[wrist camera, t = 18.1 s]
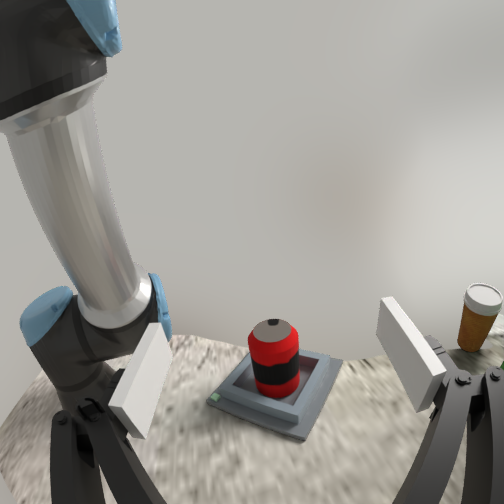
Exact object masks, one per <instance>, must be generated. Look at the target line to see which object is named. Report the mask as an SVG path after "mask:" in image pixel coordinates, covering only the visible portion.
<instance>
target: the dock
mask: <svg viewBox="0 0 504 504" xmlns="http://www.w3.org/2000/svg"><path fill="white" fill-rule="evenodd" d="M342 364H343V360H340V359H335V358H330V355H325V354H320V353H315V352H311V351H306V350H301V349H299V371H300V382H299V386H298V387H297V389H296V390H295V391H294V392H293V393H291V394H289V395H287V396H284V397H280V398H272V397H268V396H265V395H263V394H262V393H260V392H259V391H258V389H257V387H256V383H255V378H254V372H253V367H252V362H251V356H250V352H249V353H248V354H247V355H246V356H245V358H244V359H243V360H242V361H241V362H240V363H239V365H238V366H237V367H236V368H235V369H234V370H233V371H232V372H231V374H230V375H229V376H228V377H227V378H226V379H225V380H224V381H223V383H222V384H221V385H220V386H219V387H218V388H217V389H216V390H215V391H214V392H213V394H212V395H211V396H210V397H209V398H208V399H207V400H206V401H207V403H208V404H210V405H212V406H214V407H216V408H218V409H221V410H223V411H225V412H227V413H230V414H232V415H234V416H237V417H239V418H242V419H244V420H247V421H249V422H252V423H254V424H257V425H259V426H262V427H265V428H268V429H270V430H273V431H276V432H279V433H282V434H285V435H288V436H291V437H294V438H297V439H301V440H304V441H306V439H307V437H308V435H309V433H310V431H311V429H312V428H313V426H314V424H315V422H316V420H317V418H318V416H319V414H320V412H321V410H322V408H323V406H324V404H325V402H326V400H327V397H328V395H329V393H330V391H331V389H332V387H333V384H334V382H335V380H336V378H337V375H338V373H339V371H340V368H341V366H342Z"/></svg>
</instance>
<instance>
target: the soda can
mask: <svg viewBox="0 0 504 504" xmlns="http://www.w3.org/2000/svg"><path fill="white" fill-rule="evenodd" d="M248 345H249V351H250V356H251V362H252V367H253V372H254V378H255V383H256V387H257V389H258V391H259V392H260V393H262V394H263V395H265V396H268V397H272V398H280V397H284V396H287V395H289V394H291V393H293V392H294V391H295V390H296V389H297V387H298V386H299V382H300V371H299V342H298V333H297V331H296V329H295V328H293V327H292V326H291V325H290V324H289V323H288V322H286V321H284V320H280V319H269V320H265V321H262V322H260V323H259V324H257V325H256V326H255V327H254V329H253V330H252V332H251V333H250V335H249V336H248Z"/></svg>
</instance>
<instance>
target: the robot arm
mask: <svg viewBox="0 0 504 504" xmlns="http://www.w3.org/2000/svg"><path fill="white" fill-rule="evenodd" d="M121 49H122V42H121V37H120V30H119V23H118V16H117V9H116V2H115V0H0V132H2V133H4V134H5V135H6V136H7V139H8V143H9V146H10V149H11V152H12V155H13V159H14V162H15V164H16V167H17V170H18V173H19V176H20V178H21V181H22V184H23V186H24V189H25V191H26V194H27V196H28V198H29V200H30V203H31V205H32V207H33V210H34V212H35V214H36V216H37V218H38V220H39V222H40V225H41V227H42V229H43V231H44V233H45V234H46V236H47V238H48V240H49V242H50V244H51V246H52V248H53V250H54V252H55V253H56V255H57V257H58V259H59V260H60V262H61V264H62V266H63V267H64V269H65V271H66V272H67V274H68V276H69V277H70V279H71V280H72V282H73V284H74V285H75V287H76V289H77V290H78V295H73V292H72V291H71V290H70V289H69V287H67V286H64V287H63V286H60V287H56V288H54V289H52V290H50V291H48V292H46V293H44V294H43V295H41V296H39V297H38V298H37V299H36V300H34V301H33V302H32V303H31V304H30V305H29V306H28V307H27V308H26V309H25V310H24V312H23V314H22V315H21V318H20V329H21V331H22V333H23V335H24V338H25V340H26V342H27V345H28V346H29V347H30V349H31V351H32V352H33V354H34V356H35V357H36V359H37V361H38V362H39V364H40V365H41V367H42V368H43V370H44V372H45V373H46V375H47V376H48V378H49V379H50V381H51V382H52V383H53V385H54V386H55V388H56V390H57V393H58V396H59V399H60V402H61V405H62V408H63V410H62V411H59V412H57V413H56V414H55V415H54V417H53V419H52V428H51V446H50V482H51V498H52V504H106V503H105V499H104V493H103V488H102V482H101V476H100V469H99V465H100V467H101V470H102V472H103V474H104V477H105V479H106V481H107V483H108V485H109V488H110V490H111V492H112V494H113V496H114V498H115V500H116V502H117V504H167V503H166V502H165V500H164V499H163V497H162V496H161V495H160V493H159V492H158V490H157V489H156V487H155V485H154V484H153V482H152V481H151V479H150V478H149V476H148V474H147V473H146V471H145V469H144V468H143V466H142V464H141V462H140V461H139V459H138V457H137V455H136V453H135V452H134V450H133V448H132V446H131V444H130V442H129V440H128V439H127V438H126V435H127V433H128V432H129V433H130V435H131V436H132V437H133V438H140V439H146V437H147V434H148V431H149V428H150V425H151V421H152V418H153V415H154V412H155V409H156V406H157V403H158V400H159V397H160V394H161V391H162V388H163V385H164V382H165V379H166V376H167V373H168V370H169V367H170V365H171V362H172V359H173V354H172V352H171V349H170V347H169V344H168V342H169V341H170V340H171V338H172V327H171V321H170V316H169V314H168V306H167V302H166V298H165V294H164V290H163V286H162V283H161V281H160V278H159V276H158V275H157V274H150V273H148V274H147V272H146V270H145V269H144V268H143V267H142V266H140V265H139V264H137V263H135V262H133V261H132V258H131V255H130V252H129V249H128V247H127V243H126V240H125V237H124V234H123V231H122V228H121V225H120V221H119V218H118V215H117V211H116V208H115V204H114V201H113V197H112V193H111V189H110V186H109V182H108V177H107V173H106V169H105V165H104V160H103V156H102V151H101V147H100V141H99V136H98V131H97V125H96V119H95V113H94V107H93V95H94V93H95V92H96V90H97V89H98V87H99V86H100V85H101V83H102V82H103V81H104V79H105V78H106V77H107V67H106V57H112V56H114V55H115V54H117V53H119V52H120V51H121ZM376 335H377V337H378V339H379V341H380V343H381V345H382V346H383V348H384V350H385V352H386V354H387V356H388V358H389V359H390V361H391V363H392V365H393V367H394V369H395V371H396V373H397V375H398V377H399V379H400V381H401V382H402V384H403V386H404V388H405V390H406V392H407V394H408V397H409V399H410V401H411V403H412V405H413V407H414V409H415V411H416V413H417V412H420V411H423V410H426V409H428V408H429V407H430V405H431V404H432V402H434V404H435V406H436V407H435V409H434V410H433V412H432V414H431V416H430V417H429V418H430V419H431V420H430V423H429V425H428V428H427V431H426V434H425V436H424V439H423V441H422V444H421V446H420V449H419V451H418V453H417V456H416V458H415V460H414V462H413V465H412V467H411V469H410V471H409V473H408V475H407V477H406V479H405V481H404V483H403V485H402V487H401V489H400V491H399V492H398V494H397V496H396V498H395V499H394V501H393V503H392V504H439V502H440V500H441V497H442V495H443V493H444V490H445V488H446V486H447V483H448V480H449V478H450V475H451V472H452V470H453V467H454V464H455V461H456V458H457V454H458V451H459V448H460V444H461V441H462V437H463V433H464V429H465V425H466V421H467V452H466V468H465V479H464V487H463V495H462V501H461V504H504V371H503V370H502V369H501V368H500V367H498V366H491V367H489V368H487V370H486V372H485V374H482V375H471V374H470V373H469V372H468V371H465V370H459V369H458V367H457V366H456V365H455V363H454V362H453V360H452V359H451V358H450V356H449V355H448V354H447V352H445V350H444V348H443V347H442V346H441V344H440V343H439V342H438V340H437V339H435V338H434V337H432V336H430V335H429V336H425V337H423V336H422V335H421V333H420V332H419V331H418V330H417V328H416V327H415V325H414V324H413V323H412V321H411V320H410V319H409V317H408V316H407V315H406V313H405V312H404V311H403V310H402V308H401V307H400V306H399V305H398V303H397V302H396V301H395V300H394V298H393V297H392V296H391V297H386V298H381V303H380V311H379V318H378V326H377V332H376ZM130 354H133V355H132V357H131V359H130V361H129V363H128V365H127V367H126V369H119V370H118V371H117V372H116V371H115V370H113V369H112V368H111V367H110V366H109V365H108V364H107V363H106V362H104V361H106V360H110V359H114V358H118V357H122V356H126V355H130Z"/></svg>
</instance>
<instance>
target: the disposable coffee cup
mask: <svg viewBox="0 0 504 504" xmlns="http://www.w3.org/2000/svg"><path fill="white" fill-rule="evenodd" d="M463 297H464V307H463V313H462V319H461V325H460V330H459V335H458V339H457V341H458V345H459V346H460V347H461V348H462V349H463V350H465V351H468V352H475V351H478V350H479V349H480V347H481V346H482V344H483V342H484V341H485V339H486V337H487V335H488V333H489V331H490V329H491V327H492V325H493V323H494V321H495V319H496V317H497V315H498V313H499V312H500V310H501V309H502V307H503V296H502V294H501V293H500V292H499V290H497V289H496V288H494V287H493V286H490V285H487V284H483V283H475V284H471V285H470V286H469V287H468V288H467V290H466V291H465V292H464V296H463Z"/></svg>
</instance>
